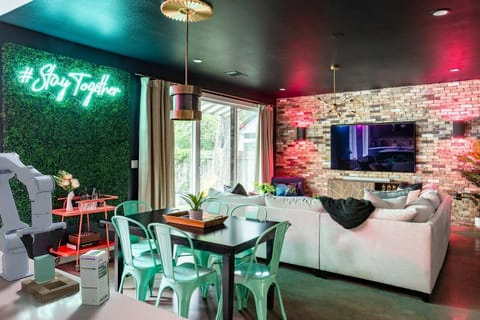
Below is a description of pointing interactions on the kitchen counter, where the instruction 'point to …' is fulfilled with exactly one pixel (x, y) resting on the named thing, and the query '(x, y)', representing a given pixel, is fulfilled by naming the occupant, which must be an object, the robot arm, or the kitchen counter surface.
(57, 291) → the pocket plate
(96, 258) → the syrup box
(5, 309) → the kitchen counter surface
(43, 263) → the teal block
